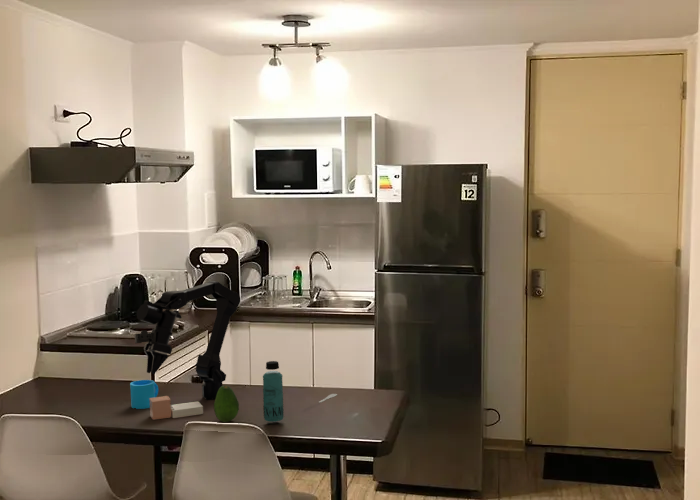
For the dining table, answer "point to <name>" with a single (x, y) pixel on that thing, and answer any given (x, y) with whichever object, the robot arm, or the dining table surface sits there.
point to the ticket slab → (186, 409)
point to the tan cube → (160, 407)
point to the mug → (142, 393)
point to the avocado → (226, 404)
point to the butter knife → (328, 397)
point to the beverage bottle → (272, 393)
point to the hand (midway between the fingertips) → (150, 373)
